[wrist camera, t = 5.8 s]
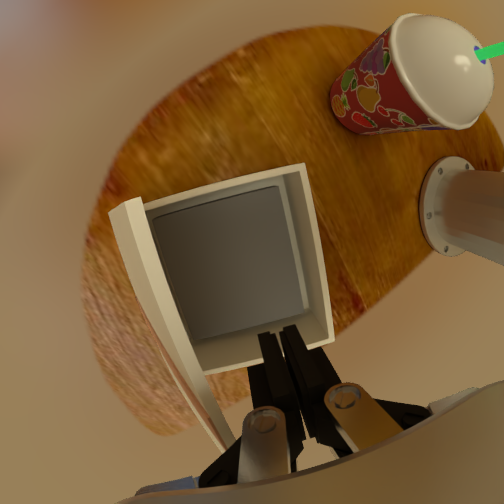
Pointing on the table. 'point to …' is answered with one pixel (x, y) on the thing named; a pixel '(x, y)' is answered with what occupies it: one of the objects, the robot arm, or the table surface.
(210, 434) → the lid
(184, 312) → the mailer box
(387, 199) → the table surface
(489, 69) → the smoothie
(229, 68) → the table surface
